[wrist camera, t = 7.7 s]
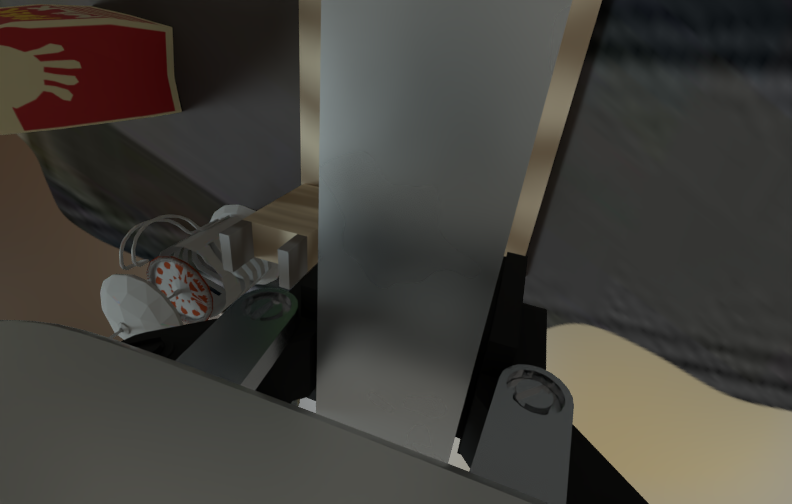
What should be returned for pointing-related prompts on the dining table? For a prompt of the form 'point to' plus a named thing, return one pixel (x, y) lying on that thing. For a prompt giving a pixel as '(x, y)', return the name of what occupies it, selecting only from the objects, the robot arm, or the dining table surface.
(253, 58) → the dining table surface
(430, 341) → the rail
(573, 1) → the wooden board
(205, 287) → the french press
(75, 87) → the milk carton
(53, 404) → the robot arm
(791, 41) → the dining table surface
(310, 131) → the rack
